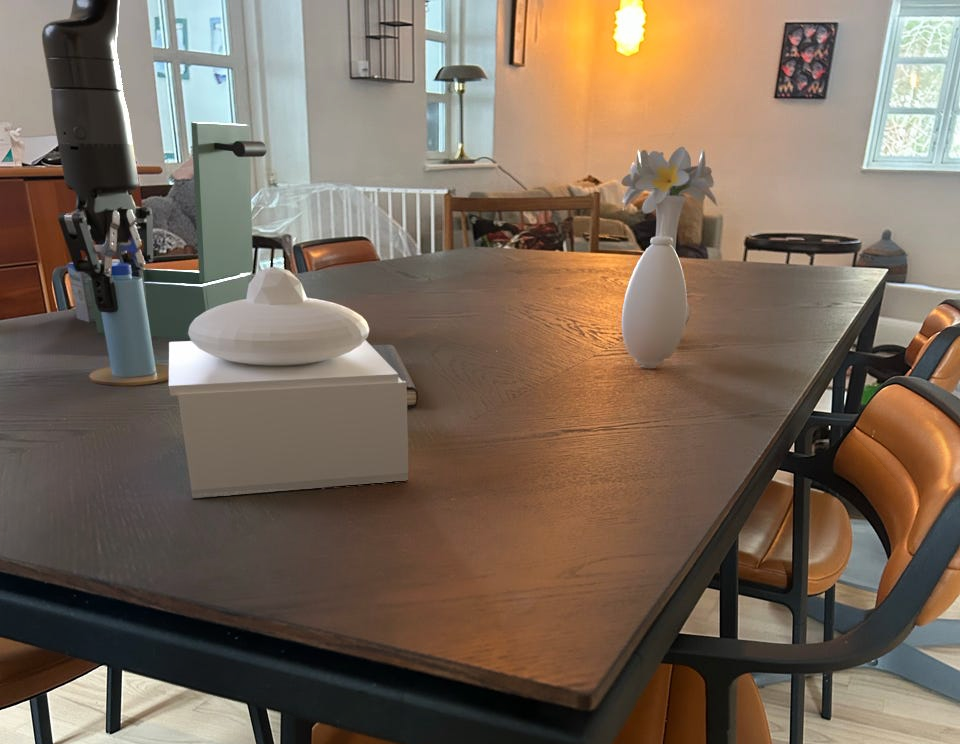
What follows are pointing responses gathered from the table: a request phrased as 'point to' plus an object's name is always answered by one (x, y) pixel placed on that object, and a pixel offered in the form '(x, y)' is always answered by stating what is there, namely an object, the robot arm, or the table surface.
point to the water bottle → (128, 327)
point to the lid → (223, 198)
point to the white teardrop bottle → (655, 304)
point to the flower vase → (668, 187)
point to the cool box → (181, 299)
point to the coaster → (108, 378)
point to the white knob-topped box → (286, 394)
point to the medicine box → (82, 293)
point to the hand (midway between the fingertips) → (123, 307)
